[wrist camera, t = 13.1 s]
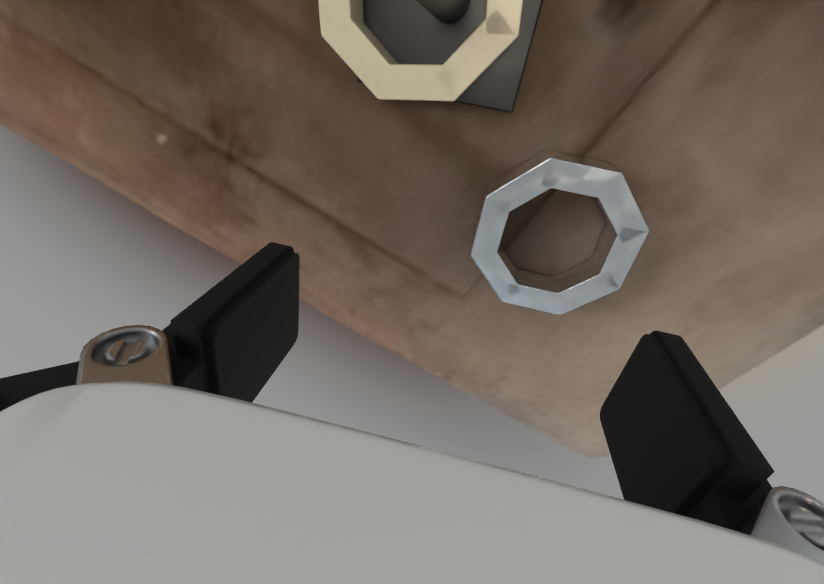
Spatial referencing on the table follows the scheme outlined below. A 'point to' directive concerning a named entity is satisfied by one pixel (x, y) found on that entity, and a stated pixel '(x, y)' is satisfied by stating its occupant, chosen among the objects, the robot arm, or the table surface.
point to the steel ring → (582, 279)
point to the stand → (452, 41)
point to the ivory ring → (417, 80)
